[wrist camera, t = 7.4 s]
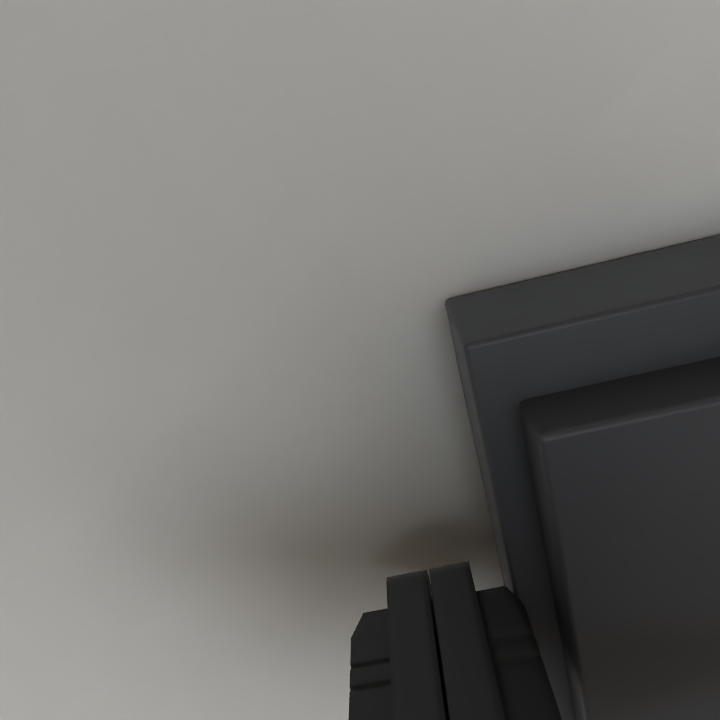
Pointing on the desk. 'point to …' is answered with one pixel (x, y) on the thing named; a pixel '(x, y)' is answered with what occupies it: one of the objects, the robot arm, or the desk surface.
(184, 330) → the desk surface
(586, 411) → the dark raised-panel slab
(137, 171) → the desk surface
